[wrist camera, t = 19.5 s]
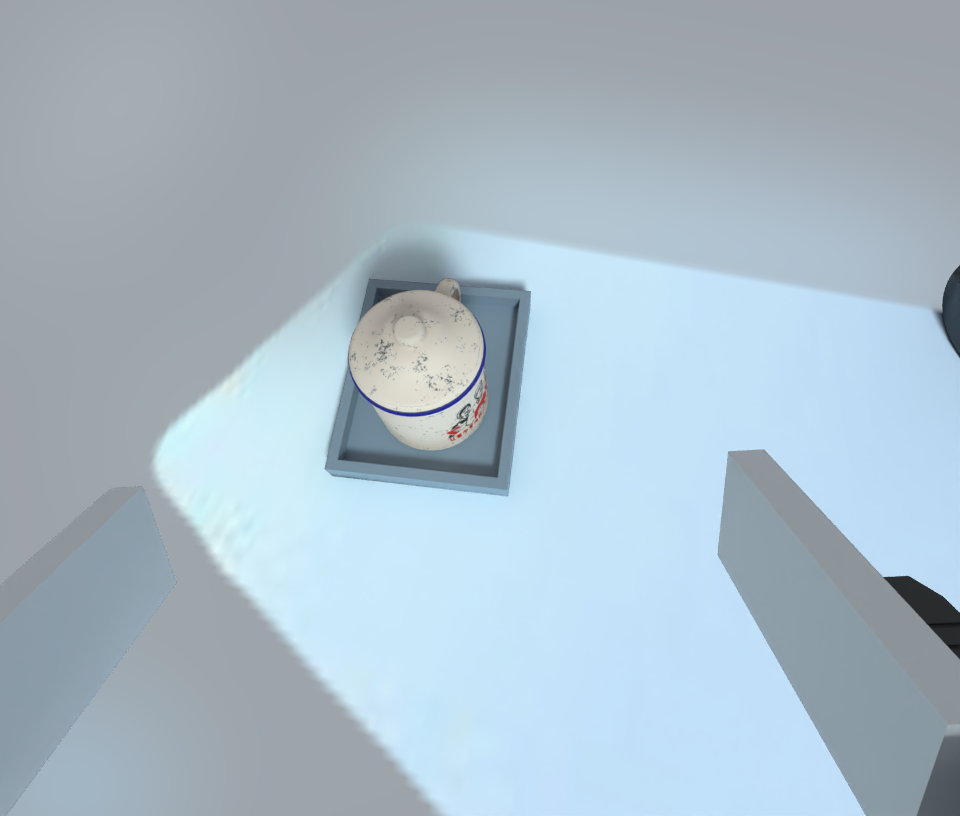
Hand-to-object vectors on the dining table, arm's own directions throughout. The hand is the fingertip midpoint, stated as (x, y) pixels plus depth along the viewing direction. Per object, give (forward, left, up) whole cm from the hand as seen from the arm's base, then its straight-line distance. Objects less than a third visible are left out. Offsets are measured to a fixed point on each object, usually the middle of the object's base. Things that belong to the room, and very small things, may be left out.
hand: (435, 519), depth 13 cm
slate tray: (+7, -16, -30) cm, 34 cm away
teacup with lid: (+6, -16, -29) cm, 34 cm away
